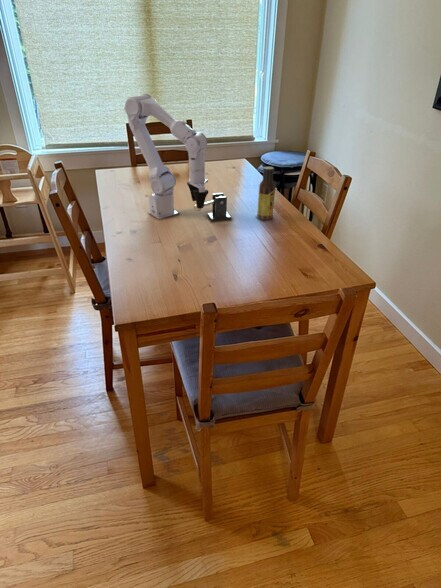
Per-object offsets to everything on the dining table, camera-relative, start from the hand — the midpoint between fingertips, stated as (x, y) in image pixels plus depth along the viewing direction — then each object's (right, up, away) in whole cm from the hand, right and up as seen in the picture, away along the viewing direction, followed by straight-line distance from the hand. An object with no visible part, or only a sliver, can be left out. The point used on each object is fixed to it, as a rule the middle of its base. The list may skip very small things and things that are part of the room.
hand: (197, 204), depth 156 cm
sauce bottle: (+27, -4, +7) cm, 28 cm away
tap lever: (+4, -1, +2) cm, 5 cm away
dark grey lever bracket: (+8, -4, +6) cm, 11 cm away
